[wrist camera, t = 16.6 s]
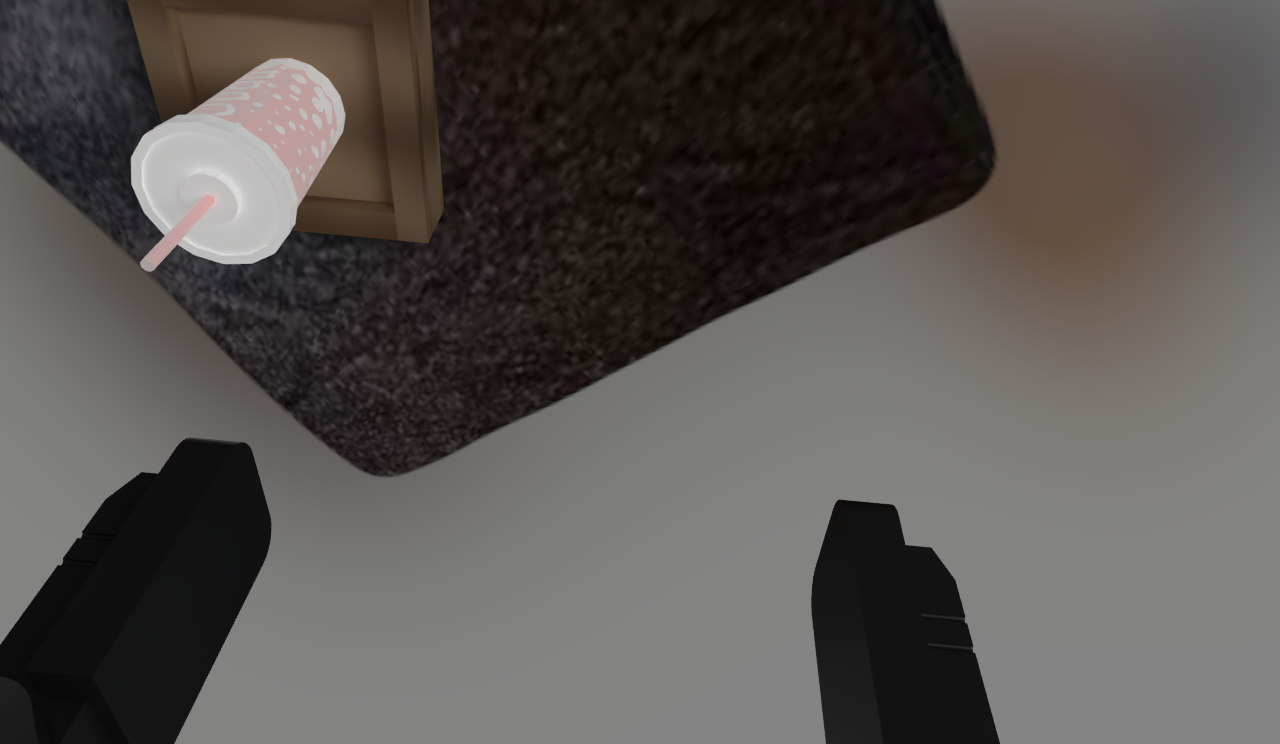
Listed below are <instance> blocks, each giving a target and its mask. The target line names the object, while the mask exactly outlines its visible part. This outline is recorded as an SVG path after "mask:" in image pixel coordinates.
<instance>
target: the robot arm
mask: <svg viewBox="0 0 1280 744" xmlns="http://www.w3.org/2000/svg"><path fill="white" fill-rule="evenodd" d="M82 533H83V534H82V537H81V538H77V540H76V541H75V543H74V544H73V545H72V546H71V548H70V549H69V551H68V552H67V554H66V555H65V556H64V558H63V564H62V565H58V566H57V567H56V569H55V570H54V571H53V573H52V574H51V576H50V577H49V578H48V580H47V581H46V582H45V584H44V585H43V587H42V588H41V589H40V591H39V592H38V593H37V595H36V596H35V598H34V599H33V601H32V602H31V603H30V605H29V606H28V607H27V609H26V610H25V612H24V613H23V614H22V616H21V617H20V618H19V620H18V621H17V623H16V624H15V625H14V627H13V628H12V629H11V631H10V632H9V634H8V635H7V636H6V638H5V639H4V641H3V642H2V643H1V645H0V744H174V743H175V741H176V739H177V737H178V735H179V733H180V731H181V729H182V727H183V725H184V723H185V721H186V719H187V717H188V715H189V713H190V711H191V709H192V707H193V704H194V703H195V701H196V699H197V696H198V694H199V692H200V690H201V688H202V686H203V684H204V682H205V680H206V678H207V676H208V674H209V672H210V670H211V668H212V666H213V664H214V662H215V660H216V658H217V656H218V654H219V652H220V650H221V648H222V646H223V644H224V642H225V640H226V638H227V636H228V634H229V632H230V630H231V628H232V626H233V624H234V622H235V619H236V618H237V616H238V614H239V612H240V610H241V608H242V606H243V604H244V602H245V600H246V598H247V596H248V594H249V592H250V590H251V588H252V586H253V583H254V582H255V579H256V577H257V575H258V573H259V571H260V569H261V567H262V565H263V563H264V561H265V559H266V556H267V552H268V549H269V545H270V539H271V518H270V513H269V510H268V506H267V503H266V499H265V495H264V492H263V488H262V485H261V481H260V477H259V474H258V470H257V467H256V463H255V460H254V456H253V453H252V450H251V448H250V446H249V445H248V444H246V443H243V442H233V441H221V440H211V439H200V438H186V439H185V440H183V441H182V442H181V443H180V444H179V445H178V446H177V447H176V449H175V450H174V452H173V453H172V455H171V456H170V458H169V459H168V460H167V462H166V463H165V465H164V466H163V468H162V469H161V471H160V472H159V474H155V473H144V472H141V473H140V474H139V475H137V476H136V477H135V478H133V479H132V480H131V481H129V482H128V483H127V484H125V485H124V486H123V487H121V488H120V489H119V490H117V491H116V492H115V493H114V494H112V495H111V496H109V497H108V498H107V499H106V500H105V501H104V502H103V504H102V505H101V507H100V508H99V509H98V511H97V512H96V513H95V515H94V516H93V517H92V519H91V520H90V522H89V523H88V524H87V526H86V527H85V529H84V530H83V531H82ZM811 601H812V602H811V605H812V606H811V608H812V621H813V629H814V638H815V647H816V657H817V666H818V675H819V683H820V693H821V702H822V711H823V720H824V729H825V738H826V744H1000V742H999V738H998V735H997V731H996V727H995V724H994V720H993V716H992V713H991V709H990V705H989V702H988V698H987V694H986V691H985V687H984V683H983V680H982V676H981V673H980V669H979V665H978V661H977V658H976V654H975V653H973V644H972V639H971V636H970V632H969V629H968V625H967V623H965V620H964V619H965V614H964V610H963V607H962V603H961V599H960V595H959V592H958V589H957V584H956V581H955V579H954V578H953V576H952V575H951V574H950V572H949V571H948V570H947V568H946V567H945V566H944V564H943V563H942V562H941V560H940V559H939V557H938V556H937V555H936V553H935V552H934V551H933V549H932V548H930V547H918V546H908V545H905V541H904V537H903V532H902V528H901V524H900V520H899V515H898V512H897V510H896V508H895V506H894V505H890V504H880V503H869V502H859V501H848V500H838V501H837V502H836V503H835V506H834V508H833V511H832V515H831V518H830V521H829V524H828V528H827V531H826V534H825V538H824V541H823V544H822V548H821V551H820V554H819V557H818V561H817V564H816V567H815V571H814V576H813V584H812V598H811Z"/></svg>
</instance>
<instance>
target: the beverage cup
mask: <svg viewBox="0 0 1280 744" xmlns="http://www.w3.org/2000/svg"><path fill="white" fill-rule="evenodd" d="M344 122H345V111H344V108H343V104H342V100H341V97H340V95H339V93H338V92H337V91H336V89H335V88H334V86H333V85H332V83H331V82H330V80H329V79H328V78H327V77H326V76H324V75H323V74H322V73H320V72H319V71H318V70H316V69H315V68H314V67H313V66H311V65H309V64H306V63H303V62H300V61H297V60H295V59H292V58H282V59H270V60H268V61H267V62H265V63H263V64H261V65H259V66H257V67H256V68H254V69H253V70H251V71H250V72H248V73H247V74H245V75H244V76H242V77H241V78H239V79H238V80H237V81H235V82H234V83H232V84H231V85H229V86H228V87H226V88H225V89H223V90H222V91H220V92H219V93H217V94H216V95H214V96H213V97H211V98H210V99H209V100H207V101H206V102H204V103H203V104H201V105H200V106H198V107H197V108H195V109H194V110H192V111H191V112H189V113H188V114H186V115H177V116H175V117H173V118H171V119H169V120H167V121H165V122H164V123H162V124H160V125H158V126H156V127H154V129H152V130H151V131H149V132H147V133H146V134H145V135H143V137H142V139H141V140H140V142H139V144H138V146H137V148H136V149H135V151H134V153H133V155H132V157H131V185H132V187H133V189H134V191H135V194H136V196H137V198H138V200H139V203H140V205H141V207H142V209H143V211H144V213H145V214H146V215H147V216H148V218H149V219H150V220H151V221H152V222H153V223H154V224H155V225H156V226H157V228H158V229H159V230H160V231H161V232H162V233H163V234H164V235H165V236H164V237H163V239H162V240H161V241H160V242H159V243H158V244H157V245H156V246H155V247H154V248H153V249H152V250H151V251H150V252H149V253H148V254H147V255H146V256H145V257H144V258H143V259H142V260H141V262H140V265H141V267H142V268H143V269H144V270H146V271H153V270H154V269H155V268H156V267H157V266H158V265H159V264H160V263H161V261H162V260H163V259H164V258H165V257H166V256H167V255H168V254H169V253H170V252H171V251H172V249H173V248H174V247H175V246H176V245H177V244H178V245H179V246H181V247H182V248H184V249H186V250H187V251H189V252H190V253H192V254H193V255H196V256H199V257H203V258H206V259H209V260H212V261H216V262H219V263H222V264H252V263H254V262H257V261H259V260H261V259H263V258H265V257H268V256H270V255H272V254H274V253H275V252H276V251H277V250H278V248H279V247H280V245H281V244H282V243H283V241H284V240H285V239H286V237H287V236H288V235H289V233H290V232H291V229H292V228H293V226H294V225H295V222H296V213H297V208H298V206H299V204H300V203H301V201H302V199H303V198H304V196H305V194H306V193H307V191H308V189H309V188H310V186H311V185H312V183H313V181H314V180H315V178H316V176H317V175H318V173H319V171H320V170H321V168H322V166H323V165H324V163H325V161H326V160H327V158H328V156H329V155H330V153H331V151H332V150H333V148H334V146H335V145H336V143H337V141H338V140H339V138H340V136H341V135H342V133H343V129H344Z"/></svg>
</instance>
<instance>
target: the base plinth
mask: <svg viewBox="0 0 1280 744" xmlns="http://www.w3.org/2000/svg"><path fill="white" fill-rule="evenodd" d="M127 2H128V6H129V9H130V13H131V17H132V20H133V24H134V27H135V31H136V34H137V38H138V42H139V45H140V49H141V52H142V56H143V60H144V63H145V67H146V70H147V74H148V78H149V81H150V85H151V88H152V92H153V95H154V99H155V103H156V106H157V110H158V113H159V117H160V121H161V124H162V123H164V122H165V121H167V120H169V119H171V118H173V117H175V116H177V115H186V114H188V113H189V112H191V111H192V110H194V109H195V108H197V107H198V106H200V105H201V104H203V103H204V102H206V101H207V100H209V99H210V98H211V97H213V96H214V95H216V94H217V93H219V92H220V91H222V90H223V89H225V88H226V87H228V86H229V85H231V84H232V83H234V82H235V81H237V80H238V79H239V78H241V77H242V76H244V75H245V74H247V73H248V72H250V71H251V70H253V69H254V68H256V67H257V66H259V65H261V64H263V63H265V62H267V61H268V60H270V59H282V58H292V59H295V60H297V61H300V62H303V63H306V64H309V65H311V66H313V67H314V68H315V69H316V70H318V71H319V72H320V73H322V74H323V75H324V76H326V77H327V78H328V79H329V80H330V82H331V83H332V85H333V86H334V88H335V89H336V91H337V92H338V93H339V95H340V97H341V100H342V104H343V108H344V111H345V122H344V129H343V133H342V135H341V136H340V138H339V140H338V141H337V143H336V145H335V146H334V148H333V150H332V151H331V153H330V155H329V156H328V158H327V160H326V161H325V163H324V165H323V166H322V168H321V170H320V171H319V173H318V175H317V176H316V178H315V180H314V181H313V183H312V185H311V186H310V188H309V189H308V191H307V193H306V194H305V196H304V198H303V199H302V201H301V203H300V204H299V206H298V208H297V213H296V222H295V225H294V226H293V228H292V229H291V230H292V231H302V232H313V233H324V234H335V235H346V236H357V237H368V238H378V239H389V240H400V241H411V242H422V243H428V242H429V240H430V238H431V235H432V233H433V231H434V229H435V227H436V225H437V223H438V221H439V219H440V217H441V215H442V213H443V211H444V202H443V189H442V175H441V162H440V149H439V135H438V122H437V109H436V95H435V82H434V69H433V55H432V42H431V29H430V15H429V2H428V0H127Z"/></svg>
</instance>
